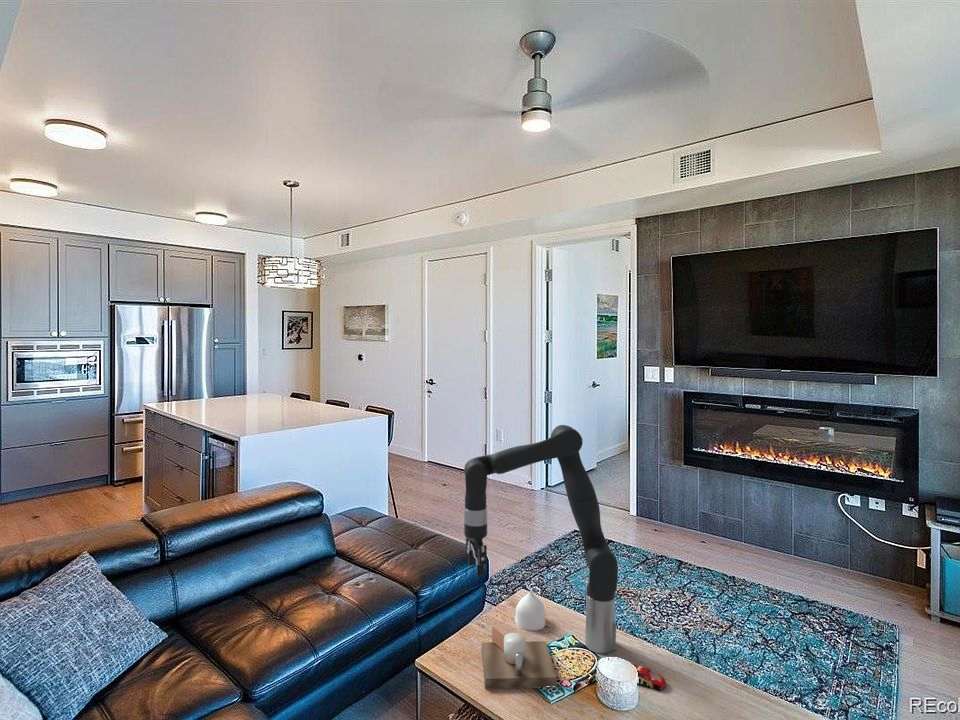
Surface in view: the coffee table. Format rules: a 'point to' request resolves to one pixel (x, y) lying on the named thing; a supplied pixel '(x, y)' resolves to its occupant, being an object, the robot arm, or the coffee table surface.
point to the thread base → (529, 667)
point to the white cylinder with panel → (508, 643)
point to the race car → (650, 678)
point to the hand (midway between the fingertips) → (476, 570)
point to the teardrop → (530, 613)
